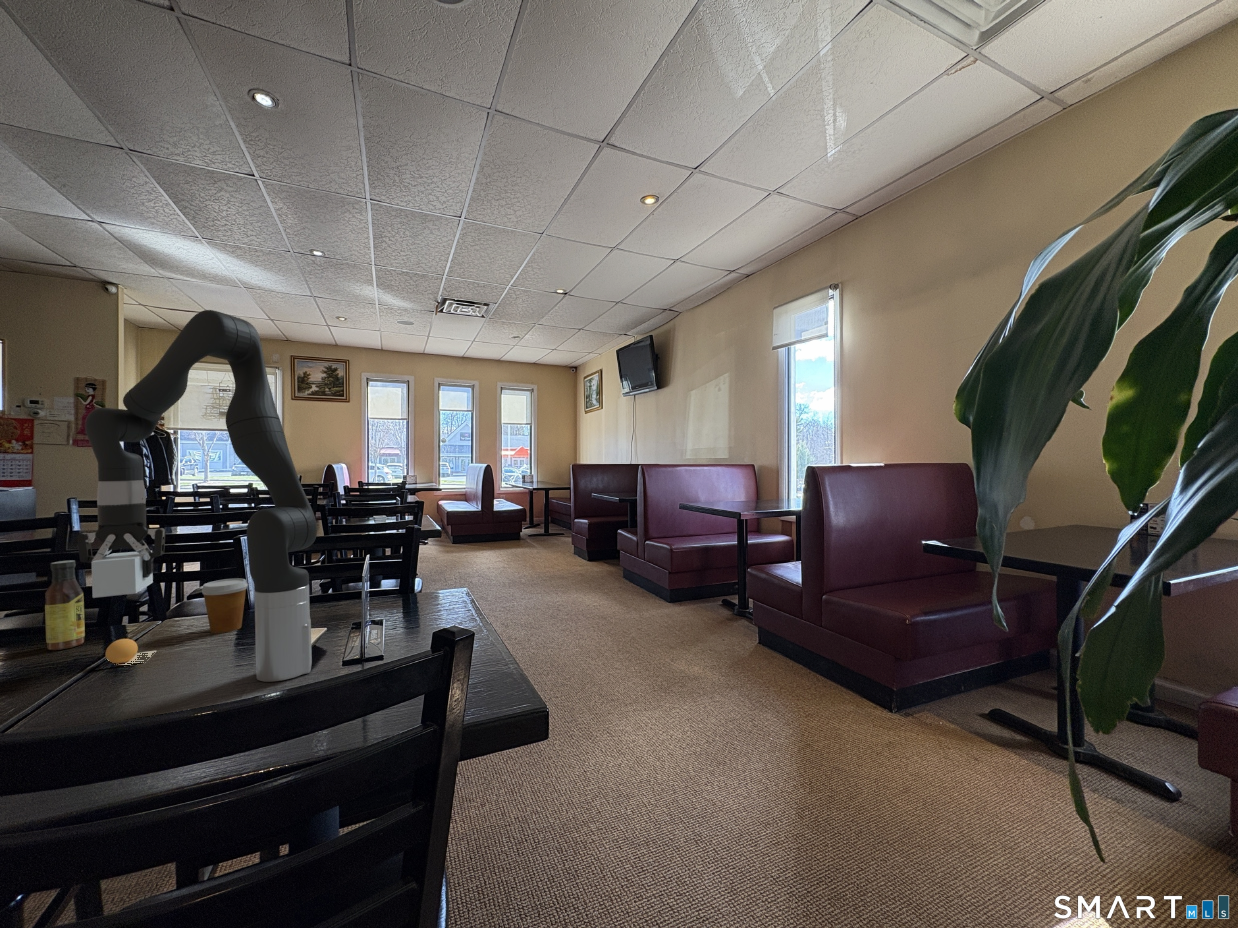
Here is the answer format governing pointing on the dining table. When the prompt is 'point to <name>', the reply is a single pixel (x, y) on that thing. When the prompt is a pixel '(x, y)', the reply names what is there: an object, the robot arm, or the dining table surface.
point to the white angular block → (118, 575)
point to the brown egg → (121, 651)
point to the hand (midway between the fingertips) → (124, 578)
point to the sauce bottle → (64, 608)
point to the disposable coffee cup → (225, 604)
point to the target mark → (137, 658)
